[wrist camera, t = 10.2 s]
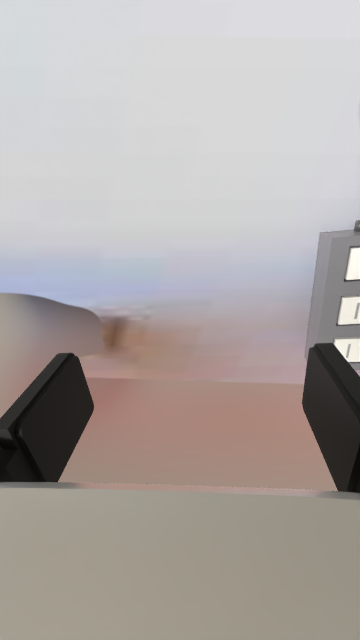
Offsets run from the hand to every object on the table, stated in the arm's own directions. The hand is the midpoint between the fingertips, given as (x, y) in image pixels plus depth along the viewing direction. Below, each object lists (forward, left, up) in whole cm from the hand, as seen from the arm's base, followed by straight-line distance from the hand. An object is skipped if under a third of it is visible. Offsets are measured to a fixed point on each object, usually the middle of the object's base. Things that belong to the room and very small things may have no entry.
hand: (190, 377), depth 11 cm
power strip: (-14, +18, -30) cm, 38 cm away
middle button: (-14, +18, -29) cm, 37 cm away
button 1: (-11, +24, -29) cm, 39 cm away
